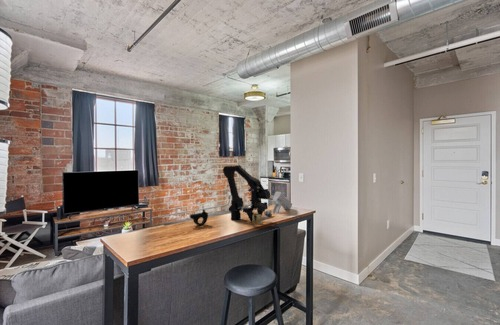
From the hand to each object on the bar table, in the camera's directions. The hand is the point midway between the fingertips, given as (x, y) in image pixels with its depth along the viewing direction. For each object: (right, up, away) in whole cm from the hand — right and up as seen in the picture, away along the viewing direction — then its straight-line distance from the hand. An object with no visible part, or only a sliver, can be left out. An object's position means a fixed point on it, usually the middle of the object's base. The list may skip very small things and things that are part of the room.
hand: (255, 220), depth 169 cm
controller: (-38, -2, -5) cm, 38 cm away
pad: (+6, -1, +11) cm, 12 cm away
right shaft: (+10, -1, +17) cm, 20 cm away
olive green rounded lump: (0, -1, 0) cm, 1 cm away
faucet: (+23, 0, +35) cm, 42 cm away
